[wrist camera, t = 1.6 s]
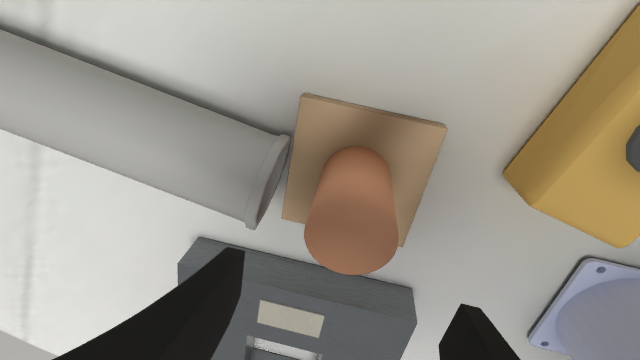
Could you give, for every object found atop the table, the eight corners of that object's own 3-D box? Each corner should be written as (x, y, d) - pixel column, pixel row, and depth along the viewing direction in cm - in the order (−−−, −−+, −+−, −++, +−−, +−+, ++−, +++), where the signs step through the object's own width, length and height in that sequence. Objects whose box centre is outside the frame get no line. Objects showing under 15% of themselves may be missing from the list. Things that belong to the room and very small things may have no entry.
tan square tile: (443, 124, 18) (447, 129, 17) (401, 238, 22) (402, 247, 21) (304, 93, 18) (300, 96, 18) (284, 210, 22) (281, 218, 21)
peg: (399, 154, 18) (411, 209, 13) (380, 214, 20) (383, 284, 15) (329, 139, 18) (313, 186, 13) (316, 199, 20) (297, 262, 15)
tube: (-72, 47, 22) (280, 182, 22) (-178, 84, 18) (248, 246, 18) (-128, -44, 18) (297, 121, 18) (-278, -22, 14) (262, 185, 15)
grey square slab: (411, 288, 23) (417, 324, 21) (358, 412, 31) (357, 450, 28) (199, 236, 24) (176, 264, 21) (196, 369, 31) (179, 403, 28)
